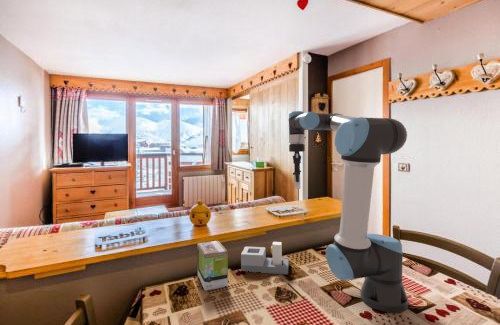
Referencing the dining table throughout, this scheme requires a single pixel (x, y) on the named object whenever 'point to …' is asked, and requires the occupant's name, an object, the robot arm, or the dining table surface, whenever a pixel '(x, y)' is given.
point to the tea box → (212, 265)
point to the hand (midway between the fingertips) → (297, 186)
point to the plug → (276, 253)
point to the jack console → (261, 262)
